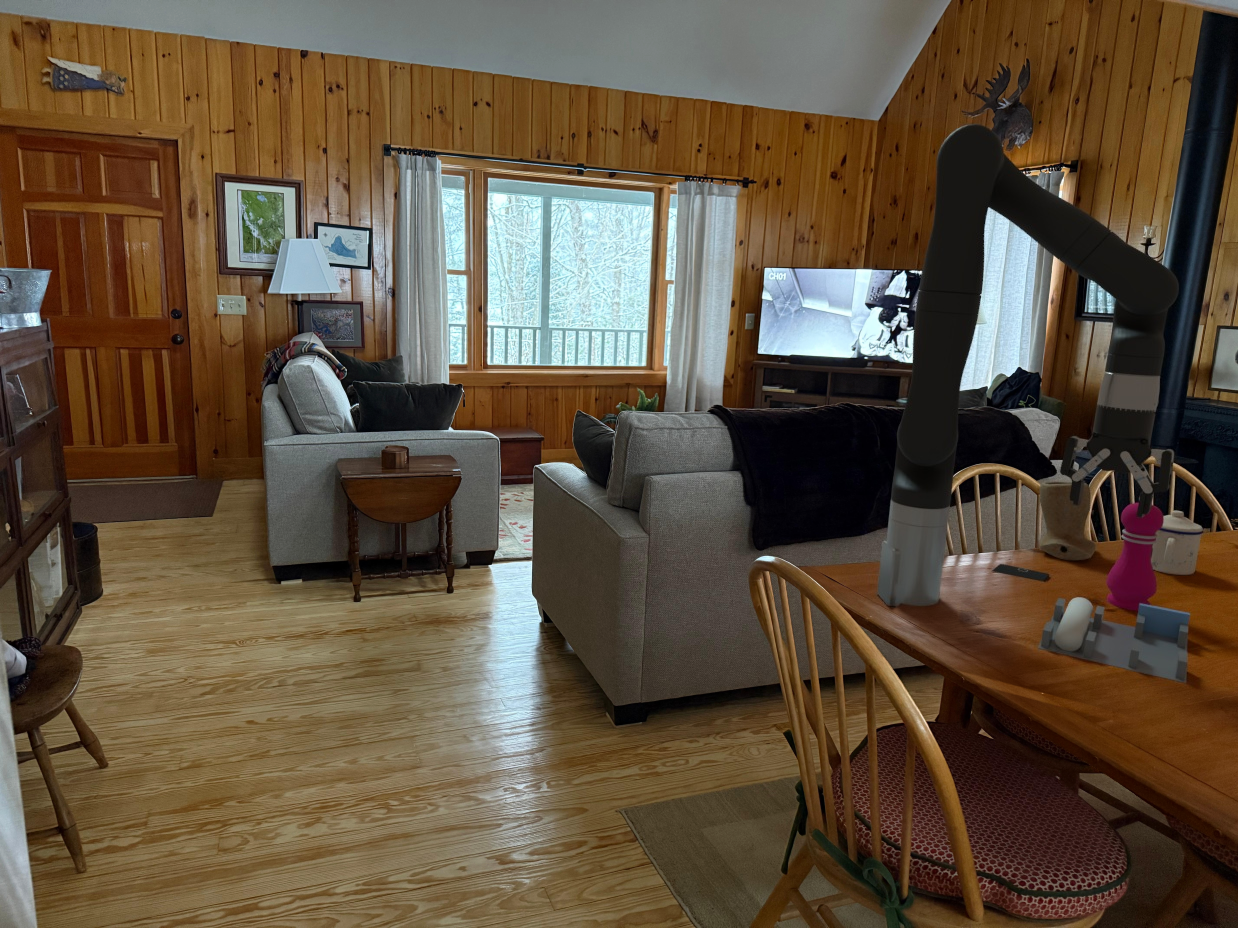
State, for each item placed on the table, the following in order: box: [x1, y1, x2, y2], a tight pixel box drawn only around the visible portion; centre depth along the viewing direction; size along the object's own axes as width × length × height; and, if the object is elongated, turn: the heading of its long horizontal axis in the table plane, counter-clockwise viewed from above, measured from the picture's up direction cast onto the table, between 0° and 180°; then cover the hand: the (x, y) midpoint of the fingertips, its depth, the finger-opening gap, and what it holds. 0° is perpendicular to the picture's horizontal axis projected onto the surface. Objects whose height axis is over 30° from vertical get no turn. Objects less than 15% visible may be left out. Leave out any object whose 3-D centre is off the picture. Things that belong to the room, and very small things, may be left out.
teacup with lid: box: [1151, 510, 1204, 576], centre depth 162 cm, size 12×9×12 cm
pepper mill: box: [1105, 497, 1164, 611], centre depth 139 cm, size 7×7×20 cm
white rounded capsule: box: [1055, 597, 1094, 651], centre depth 126 cm, size 16×4×4 cm, turn 146°
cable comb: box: [1037, 597, 1191, 684], centre depth 123 cm, size 19×18×5 cm
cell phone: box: [991, 563, 1050, 583], centre depth 153 cm, size 9×18×1 cm, turn 141°
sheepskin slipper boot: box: [1039, 480, 1097, 561], centre depth 172 cm, size 15×12×15 cm
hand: (1108, 510), depth 126 cm, fingers open, 8 cm apart
